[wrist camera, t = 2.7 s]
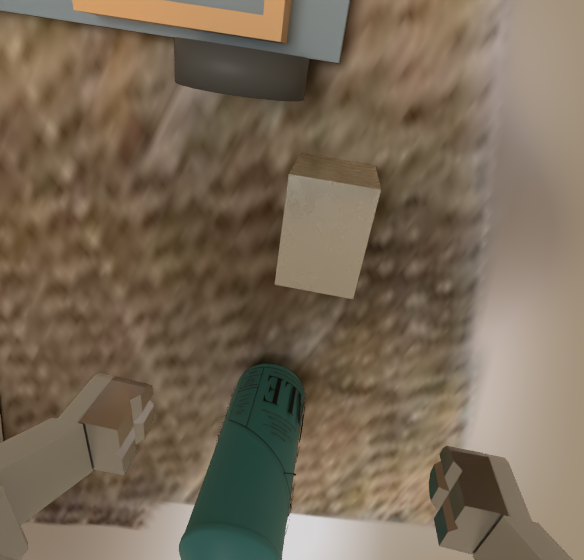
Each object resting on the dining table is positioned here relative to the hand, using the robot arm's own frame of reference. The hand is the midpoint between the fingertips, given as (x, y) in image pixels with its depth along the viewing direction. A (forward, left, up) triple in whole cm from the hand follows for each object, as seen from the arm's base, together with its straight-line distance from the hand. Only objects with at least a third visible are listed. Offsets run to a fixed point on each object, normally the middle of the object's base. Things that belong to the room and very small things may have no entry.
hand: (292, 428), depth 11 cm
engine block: (0, 0, -19) cm, 19 cm away
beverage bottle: (-17, +2, -19) cm, 26 cm away
